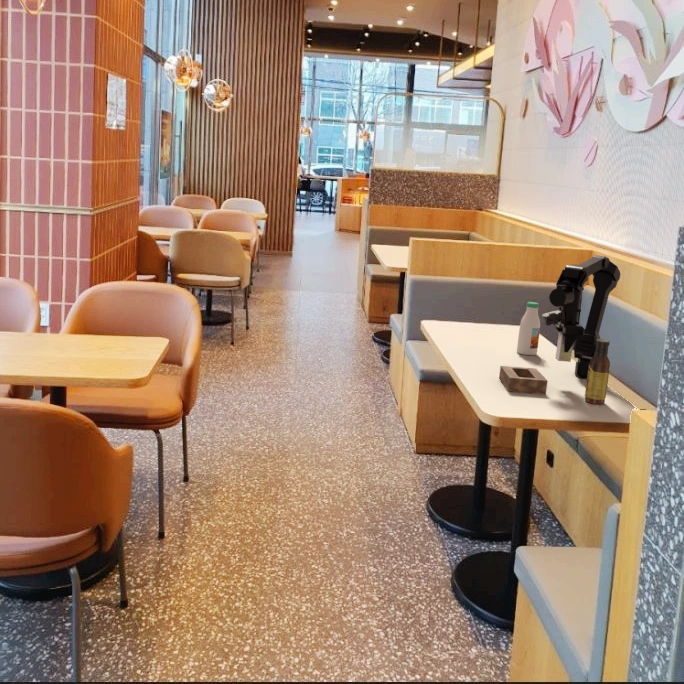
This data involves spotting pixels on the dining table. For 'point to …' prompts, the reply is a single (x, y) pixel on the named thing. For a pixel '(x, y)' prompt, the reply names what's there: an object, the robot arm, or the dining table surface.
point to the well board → (523, 379)
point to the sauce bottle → (598, 374)
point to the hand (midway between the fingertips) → (564, 350)
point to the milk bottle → (529, 330)
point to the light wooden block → (562, 350)
